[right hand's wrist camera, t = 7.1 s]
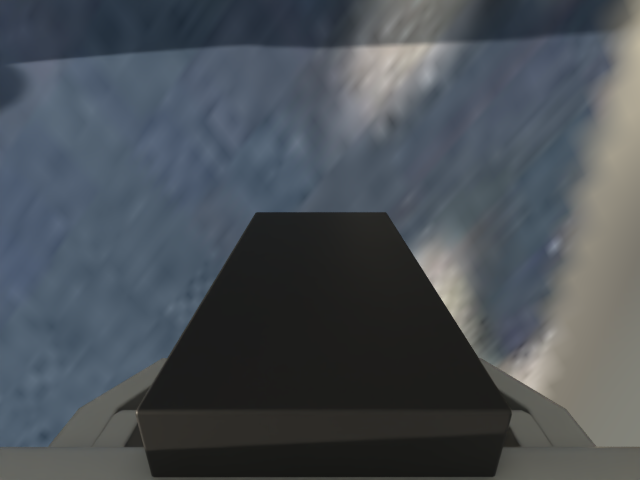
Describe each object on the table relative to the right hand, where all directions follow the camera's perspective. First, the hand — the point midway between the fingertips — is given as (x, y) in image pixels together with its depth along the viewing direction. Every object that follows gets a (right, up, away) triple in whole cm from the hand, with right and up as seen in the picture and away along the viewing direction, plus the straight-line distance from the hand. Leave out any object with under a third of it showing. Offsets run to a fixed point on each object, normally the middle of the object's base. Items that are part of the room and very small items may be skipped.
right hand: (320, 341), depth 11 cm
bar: (0, -6, +6) cm, 9 cm away
